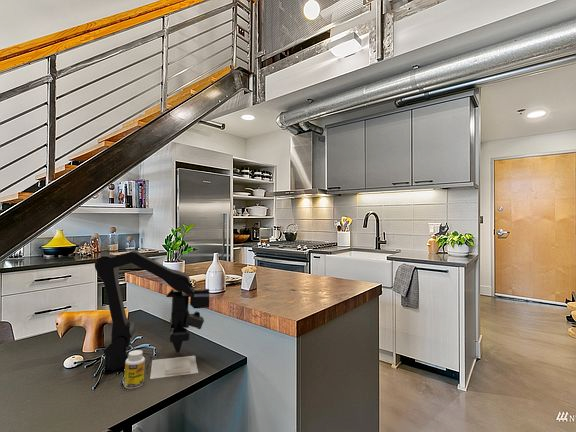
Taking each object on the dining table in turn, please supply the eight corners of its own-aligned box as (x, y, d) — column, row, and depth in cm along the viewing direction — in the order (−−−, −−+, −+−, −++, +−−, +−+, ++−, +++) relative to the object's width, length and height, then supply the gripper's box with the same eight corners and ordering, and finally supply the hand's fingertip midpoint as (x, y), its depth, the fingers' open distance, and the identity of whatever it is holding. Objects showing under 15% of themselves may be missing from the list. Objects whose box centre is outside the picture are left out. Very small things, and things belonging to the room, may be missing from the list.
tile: (165, 364, 111) (165, 375, 104) (165, 359, 111) (165, 370, 104) (188, 361, 114) (190, 372, 106) (189, 357, 114) (190, 367, 106)
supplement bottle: (124, 391, 94) (126, 357, 94) (122, 383, 98) (124, 350, 98) (145, 387, 97) (146, 354, 97) (142, 379, 101) (143, 347, 101)
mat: (150, 380, 101) (150, 378, 101) (152, 361, 114) (152, 360, 114) (198, 373, 106) (198, 372, 106) (195, 356, 119) (195, 355, 119)
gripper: (205, 314, 107) (203, 360, 106) (200, 300, 124) (198, 340, 124) (170, 317, 103) (168, 364, 102) (170, 302, 120) (168, 343, 120)
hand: (177, 352), depth 112 cm, fingers closed
